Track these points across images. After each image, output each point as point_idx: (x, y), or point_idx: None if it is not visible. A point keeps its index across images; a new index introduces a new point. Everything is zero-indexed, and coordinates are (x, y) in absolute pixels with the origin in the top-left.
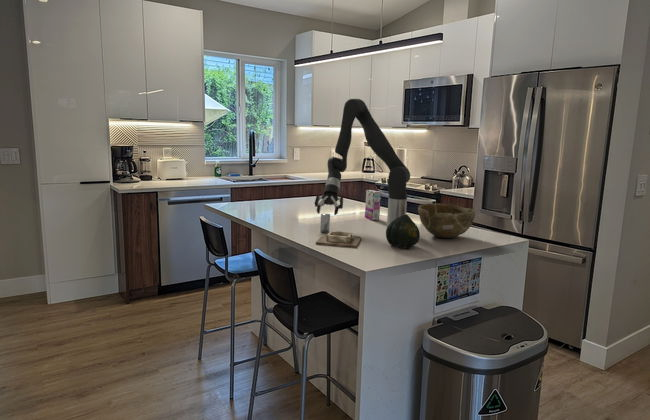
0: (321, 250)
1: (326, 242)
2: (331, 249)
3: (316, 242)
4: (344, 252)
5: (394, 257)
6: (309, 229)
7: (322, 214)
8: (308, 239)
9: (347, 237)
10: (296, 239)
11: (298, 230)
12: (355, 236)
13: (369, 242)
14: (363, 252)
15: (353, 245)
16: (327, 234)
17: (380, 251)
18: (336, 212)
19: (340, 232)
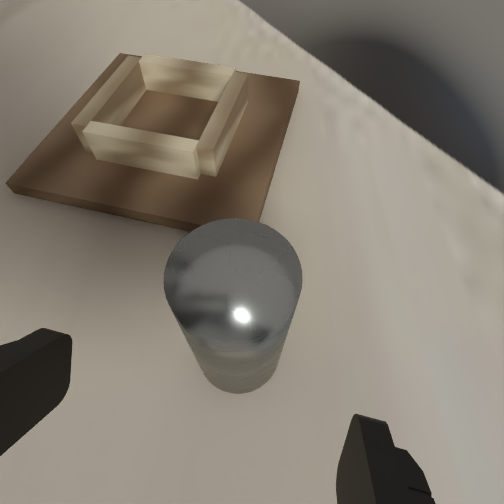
0: (271, 38)
1: (248, 79)
2: (232, 47)
3: (295, 82)
4: (188, 27)
5: (29, 3)
6: None
7: (278, 259)
8: (344, 155)
9: (138, 59)
10: (409, 150)
11: (486, 395)
12: (45, 182)
13: (9, 132)
14: (115, 30)
15: (131, 55)
16: (240, 83)
17: (40, 40)
18: (21, 341)
19: (148, 133)
